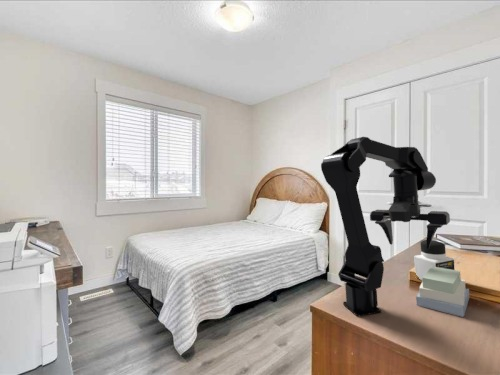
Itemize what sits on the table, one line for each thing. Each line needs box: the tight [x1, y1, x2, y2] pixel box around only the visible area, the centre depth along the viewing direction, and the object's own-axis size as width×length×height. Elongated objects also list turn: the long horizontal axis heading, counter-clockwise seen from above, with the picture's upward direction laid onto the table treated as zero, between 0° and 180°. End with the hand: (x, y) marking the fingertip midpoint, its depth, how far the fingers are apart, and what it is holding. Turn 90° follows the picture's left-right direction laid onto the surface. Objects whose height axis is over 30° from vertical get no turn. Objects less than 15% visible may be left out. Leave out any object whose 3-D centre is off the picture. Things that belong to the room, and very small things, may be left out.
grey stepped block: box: [415, 278, 470, 318], centre depth 63 cm, size 12×9×4 cm
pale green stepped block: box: [421, 266, 462, 294], centre depth 63 cm, size 10×6×2 cm, turn 133°
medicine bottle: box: [413, 239, 455, 282], centre depth 76 cm, size 7×7×12 cm
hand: (408, 246), depth 72 cm, fingers open, 9 cm apart
